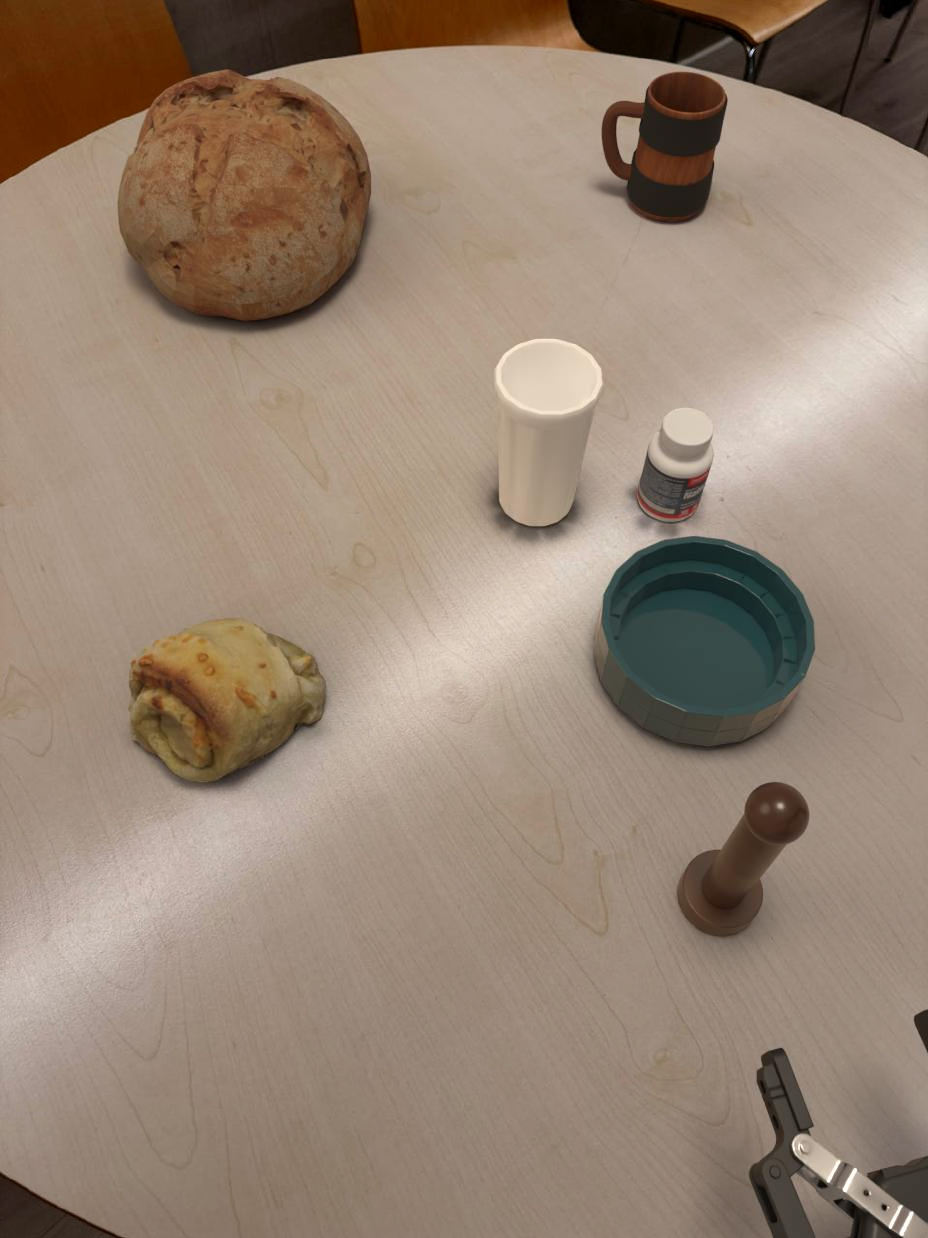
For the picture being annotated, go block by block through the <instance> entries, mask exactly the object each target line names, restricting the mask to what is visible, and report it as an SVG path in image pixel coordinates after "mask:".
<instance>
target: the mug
mask: <svg viewBox="0 0 928 1238" xmlns="http://www.w3.org/2000/svg"><path fill="white" fill-rule="evenodd" d="M728 100H729V99H728V95H727V93H726V91H725V89H724V87H723V86H722V85H721V84H720V82H718V81H716V80H715V79H713V78H712V77H709V76H707V75H705V74H702V73H697V72H691V71H672V72H667V73H664V74H661V75H659V76H657V77H655V78H654V79H653V80H652V81H651V82H650V83H649V85H648V86H647V87H646V90H645V96H644V102H636V101H631V100H618V101H615V102H614V103H612V104H611V105H609V107H608V108H606V111H605V113H604V115H603V117H602V122H601V145H602V150H603V156H604V159H605V161H606V164H607V166H608V169H609V170H610V171H611V173H612V174H613V175H615V176H616V177H617V178H619V179H621V180H623V181H626V182H627V184H626V194H627V197H628V199H629V202H630V203H631V205H632V206H633V208H634V209H635V211H637V212H638V213H640V214H641V215H643V216H644V217H647V218H649V219H651V220H655V221H657V222H658V221H659V222H665V223H667V222H668V223H669V222H670V223H672V222H673V223H675V222H681V221H684V220H685V221H686V220H687V219H690V218H692V217H694V216H695V215H696V214H698V213H699V211H701V210H702V209H703V208H704V207H705V206H706V204H707V203H708V200H709V196H710V193H711V189H712V183H713V177H714V170H715V159H714V158H715V153H716V148H717V146H718V145H719V143H720V140H721V136H722V132H723V131H722V130H723V125H724V120H725V117H726V116H725V115H726V112H727V107H728ZM619 117H626V118H631V119H640V121H639V126H638V134H639V135H638V139H637V145H636V148H635V150H634V151H633V154H632V158H631V163H626V162H625V161H624V160H623V158H622V156H621V153H620V149H619V145H618V136H617V125H618V119H619Z"/></svg>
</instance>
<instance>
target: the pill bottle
mask: <svg viewBox="0 0 928 1238" xmlns="http://www.w3.org/2000/svg"><path fill="white" fill-rule="evenodd" d="M714 431H715V430H714V423H713V421H712V420H711V418H710V417H709V416H708V415H707V414H706V413H704V412H702V411H701V410H699V409H696V408H692V407H678V408H675V409H672V410H670V411H669V412H668V413H667V414H665V415H664V417H663V419H662V423H661V426H660V429H658V431H656V433H654V434H653V436H651V439H650V441H649V444H648V446H647V450H646V455H645V458H644V459H645V460H644V463H643V467H642V470H641V475H640V479H639V482H638V485H637V490H636V498H637V502H638V504H639V507H640V508H641V509H642V511H643V512H644V513H646V514H647V515H648V516H649V517H651V518H653V519H655V520H658V521H662V522H665V523H667V522H668V523H675V522H681V521H683V520H686V519H688V518H690V517H691V516H692V515H694V513H696V511H697V509H698V506H699V504H700V502H701V498H702V495H703V493H704V490H705V486H706V483H707V481H708V477H709V473H710V472H711V471H710V470H711V468H712V465H713V461H714V456H715V451H714V446H713V444H712V440H713V436H714Z"/></svg>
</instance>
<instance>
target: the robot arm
mask: <svg viewBox="0 0 928 1238" xmlns="http://www.w3.org/2000/svg"><path fill="white" fill-rule="evenodd" d="M913 1023H914V1026H915V1028H916V1030H917V1033H918V1035H919V1037H920V1039H921V1042H922V1044H923V1046H924V1048H925V1050H926V1053H927V1054H928V1008H927V1009H924V1010H922V1011H920V1012H918V1013H916V1014H914V1016H913ZM760 1062H761V1067H760V1068H758V1069H757V1070H756V1084H757V1087H758V1090H759V1092H760V1094H761V1097H762V1101H763V1103H764V1106H765V1109H766V1111H767V1114H768V1118H769V1121H770V1123H771V1126H772V1128H773V1131H774V1135H775V1144H774V1147H773V1148H772V1149H771V1151H769V1152H768V1153H767V1154H766V1155H765V1156H763V1157H762V1158H761V1159H760V1160H759V1161H757V1162H755V1163H753V1164H752V1165H751V1166H750V1168H749V1170H748V1178H749V1181H750V1183H751V1186H752V1189H753V1191H754V1194H755V1197H756V1199H757V1201H758V1203H759V1207H760V1209H761V1211H762V1213H763V1216H764V1218H765V1219H764V1220H765V1221H766V1223H767V1226H768V1228H769V1229H768V1230H769V1231H770V1234H771V1236H772V1238H817V1237H816V1235H815V1233H814V1230H813V1228H812V1226H811V1223H810V1221H809V1217H808V1215H807V1214H806V1211H805V1208H804V1207H803V1204H802V1201H801V1199H800V1197H799V1195H798V1192H797V1189H796V1187H795V1185H794V1183H793V1180H792V1178H791V1177H793V1176H794V1175H795V1174H796V1175H798V1176H799V1177H801V1178H802V1179H803V1180H804V1181H805V1182H807V1184H809V1185H810V1186H812V1187H813V1189H814V1190H815V1192H816V1193H817V1194H818V1195H819V1196H820V1197H821V1198H822V1199H824V1200H825V1201H826V1202H827V1203H829V1204H830V1205H831V1206H832V1207H834V1208H835V1209H836V1210H837V1211H838V1212H840V1214H842V1215H843V1216H845V1218H847V1219H848V1220H849V1221H850V1222H852V1224H851V1225H852V1226H851V1231H850V1235H849V1236H850V1237H849V1238H928V1155H925V1156H921V1157H918V1158H915V1159H912V1160H909V1161H908V1162H907V1163H905V1164H904V1165H893V1166H888V1167H884V1168H880V1169H877V1170H873V1171H869V1172H866V1175H865V1174H864V1173H862V1171H860V1170H859V1169H857V1168H856V1167H854V1166H853V1165H851V1164H850V1163H847V1162H845V1161H843V1160H842V1159H840V1158H839V1156H836V1154H834V1153H832V1152H831V1151H830V1150H829V1149H828V1148H826V1147H825V1146H824V1145H823V1144H822V1143H820V1142H819V1141H818V1140H816V1139H815V1138H814V1137H812V1135H811V1131H810V1129H811V1128H814V1127H815V1124H814V1122H813V1119H812V1116H811V1115H810V1111H809V1109H808V1107H807V1103H806V1100H805V1099H804V1095H803V1092H802V1090H801V1088H800V1086H799V1082H798V1079H797V1076H796V1074H795V1072H794V1070H793V1067H792V1064H791V1061H790V1059H789V1057H788V1054H787V1052H786V1051H785V1049H784V1048H783V1047H778V1048H773V1049H771V1050H770V1049H769V1050H767V1051H766V1052H765V1053H763V1054H761V1055H760Z"/></svg>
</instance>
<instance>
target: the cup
mask: <svg viewBox="0 0 928 1238" xmlns="http://www.w3.org/2000/svg"><path fill="white" fill-rule="evenodd" d="M493 380H494V381H493V383H494V385H493V386H494V391H495V397H496V400H497V433H498V434H497V435H498V436H497V438H498V440H497V442H498V443H497V444H498V449H497V450H498V501H499V504H500V506H501V508H502V510H503V512H504V513H505V514H506V515H507V516H508V517H510V518H511V519H512V520H513V521H515V522H517V523H520V524H522V525H526V526H528V527H546V526H549V525H552V524H556V523H559V521H561V520H562V519H563V518H565V517H566V516H567V515H568V514H569V512H570V510H571V509H572V507H573V504H574V500H575V495H576V491H577V489H578V488H577V487H578V483H579V478H580V474H581V471H582V466H583V462H584V457H585V454H586V449H587V445H588V441H589V437H590V432H591V428H592V424H593V421H594V420H593V419H594V415H595V410H596V407H597V405H598V403H599V401H600V399H601V396H602V393H603V390H604V388H605V384H604V372H603V369H602V368H601V366H600V365H599V364H598V362H597V360H596V358H595V357H594V356H593V355H592V354H591V353H590V352H588V351H587V350H585V349H584V348H583V347H580V346H579V345H578V344H576V343H573V342H569V341H565V340H562V339H559V338H535V339H531V340H528V341H524V342H520V343H518V344H516V345H514V346H513V347H512V348H510V349H509V350H508V351H506V352H505V353H503V354H502V355H501V357H500V359H499V361H498V363H497V364H496V366H495V368H494V370H493Z"/></svg>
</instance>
